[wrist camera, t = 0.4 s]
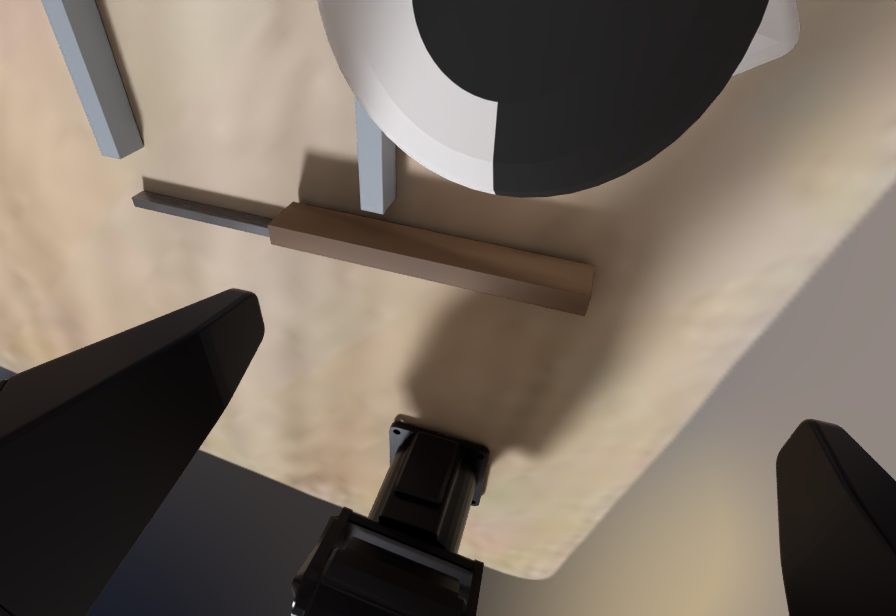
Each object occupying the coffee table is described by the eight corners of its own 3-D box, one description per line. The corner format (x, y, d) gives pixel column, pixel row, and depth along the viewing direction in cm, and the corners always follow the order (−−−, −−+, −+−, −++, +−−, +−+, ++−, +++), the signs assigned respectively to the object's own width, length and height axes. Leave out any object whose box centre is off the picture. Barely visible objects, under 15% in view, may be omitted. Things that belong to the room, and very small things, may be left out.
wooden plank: (588, 284, 22) (584, 316, 21) (295, 220, 25) (271, 244, 23) (594, 265, 22) (590, 296, 20) (292, 201, 24) (267, 224, 22)
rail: (584, 297, 23) (582, 308, 22) (146, 199, 27) (135, 206, 26) (587, 288, 23) (585, 299, 22) (142, 190, 27) (131, 197, 26)
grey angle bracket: (395, 198, 23) (373, 226, 21) (126, 143, 25) (84, 164, 23) (394, -200, 14) (358, -212, 13) (-5, -223, 17) (-84, -237, 15)
